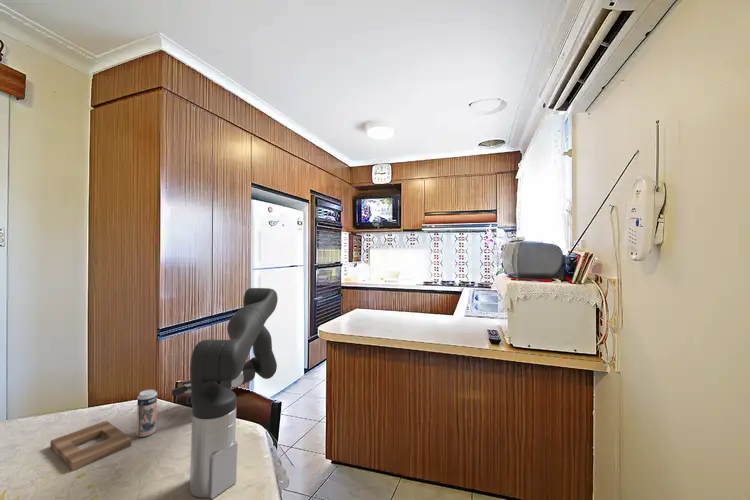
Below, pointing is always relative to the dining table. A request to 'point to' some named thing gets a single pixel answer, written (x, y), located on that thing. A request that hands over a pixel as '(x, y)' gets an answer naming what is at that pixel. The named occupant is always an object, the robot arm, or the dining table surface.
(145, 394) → the beer can
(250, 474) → the dining table surface
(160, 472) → the dining table surface
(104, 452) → the frame
